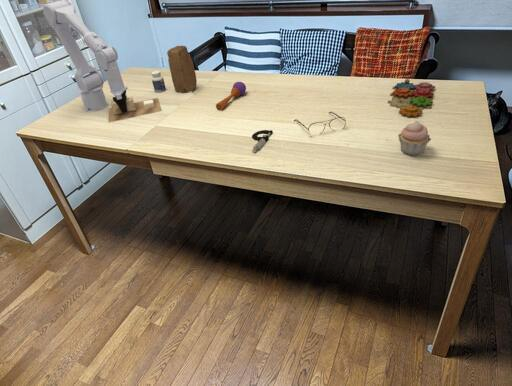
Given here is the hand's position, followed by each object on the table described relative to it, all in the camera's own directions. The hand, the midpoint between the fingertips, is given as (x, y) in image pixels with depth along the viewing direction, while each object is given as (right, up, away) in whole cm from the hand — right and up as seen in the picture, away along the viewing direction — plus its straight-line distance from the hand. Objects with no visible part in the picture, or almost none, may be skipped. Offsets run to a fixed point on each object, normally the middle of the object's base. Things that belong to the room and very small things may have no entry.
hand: (124, 109), depth 159 cm
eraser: (+10, +2, +3) cm, 11 cm away
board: (+4, -1, +2) cm, 4 cm away
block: (+24, +12, +16) cm, 31 cm away
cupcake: (+105, -23, -44) cm, 116 cm away
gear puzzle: (+116, -1, -16) cm, 117 cm away
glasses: (+80, -11, -24) cm, 84 cm away
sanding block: (0, -1, +1) cm, 1 cm away
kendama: (+46, +4, +1) cm, 46 cm away
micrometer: (+57, -18, -30) cm, 67 cm away
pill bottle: (+11, +12, +18) cm, 24 cm away
